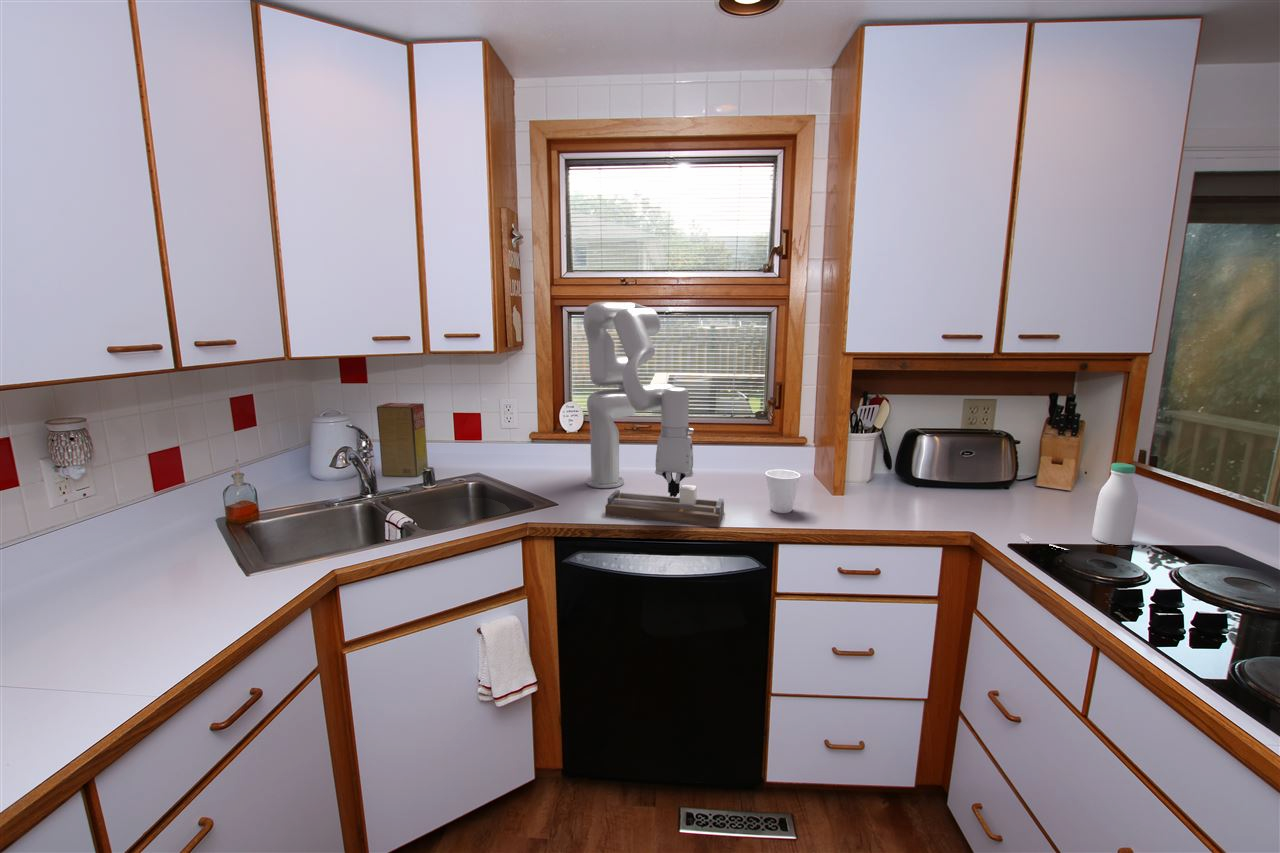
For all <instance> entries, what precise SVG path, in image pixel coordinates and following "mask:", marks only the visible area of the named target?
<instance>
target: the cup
mask: <svg viewBox="0 0 1280 853" xmlns="http://www.w3.org/2000/svg"><path fill="white" fill-rule="evenodd" d="M765 477H766V483H767V484H766V485H767V491H768V500H769V501H768V502H769V508H770V511H772V512H774V513H777V514H788V513H791V512H792V510H793V507H794V502H795V498H796V495H797V494H796V493H797V490H798V485H799V481H800V478H801V477H802V476H801V474H800V473H799V472H797V471H794V470H789V469H780V468H779V469H770V470H767V471H766V472H765Z"/></svg>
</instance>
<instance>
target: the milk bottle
mask: <svg viewBox="0 0 1280 853" xmlns="http://www.w3.org/2000/svg"><path fill="white" fill-rule="evenodd" d="M1135 473H1136V465H1133V464H1129V463H1125V462H1113V463H1111V465H1110V475H1109V477H1108V479H1107V481H1106V483H1104V485H1103V486H1102V487H1101V489H1100V491H1099V494H1098V498H1097V502H1096V507H1095V511H1094V512H1095V513H1094V520H1093V525H1092V531H1091V538H1092V537H1093V538H1094V539H1095V541H1096V540H1098V541H1101V542H1105V543H1110V544H1116V545H1129V544H1130V545H1131V543H1132V540H1133V534H1134V529H1135V523H1136V517H1137V511H1138V504H1139V495H1138V492H1137V489H1136V487H1135V486H1136V485H1135V482H1134V476H1135V475H1136V474H1135ZM1093 538H1092V539H1093ZM1094 539H1093V540H1094ZM1098 541H1097V542H1098ZM1101 542H1100V543H1101ZM1130 545H1129V546H1130Z"/></svg>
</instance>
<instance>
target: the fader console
mask: <svg viewBox="0 0 1280 853" xmlns="http://www.w3.org/2000/svg"><path fill="white" fill-rule="evenodd" d="M724 510H725V502H724V498H718V500H716V499H704V498H703V499H702V498H696V504H695V505H686V504H680V496H676V497H674V496H672V497H670V495H669V496H667V495H658V494H657V495H656V494H655V495H654V494H644V493H635V492H634V493H632V492H621V491H620V490H619V489H615V490H614V491H613V492H612V493H611V494H610V495H609V496H608V497H607V504H605V515H606V516H605V517H613V516H616V518H624V519H626V518H627V519H634V518H635V519H637V520H647V521H655V522H656V521H657V522H668V523H679V524H685V525H687V524H689V525H697V526H707V525H708V526H710V527H718V526H719V527H720V524H721V521H722V519H723V518H722V517H723V515H724V513H725V512H724Z"/></svg>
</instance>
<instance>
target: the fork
mask: <svg viewBox="0 0 1280 853" xmlns="http://www.w3.org/2000/svg"><path fill="white" fill-rule="evenodd" d="M1018 535H1019V537H1021V538H1022V539H1023V540H1024V541H1025V542H1026V541H1030V539H1031V540H1032V539H1033V538H1032V537H1030V536H1028V535H1027V534H1025V533H1024V532H1022V533H1020V534H1018ZM1048 544H1049V546H1053V547H1056V548H1061V549H1064V550H1069V549H1068V548H1064V547H1060V546H1057V545H1055V544H1051V543H1048Z"/></svg>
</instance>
